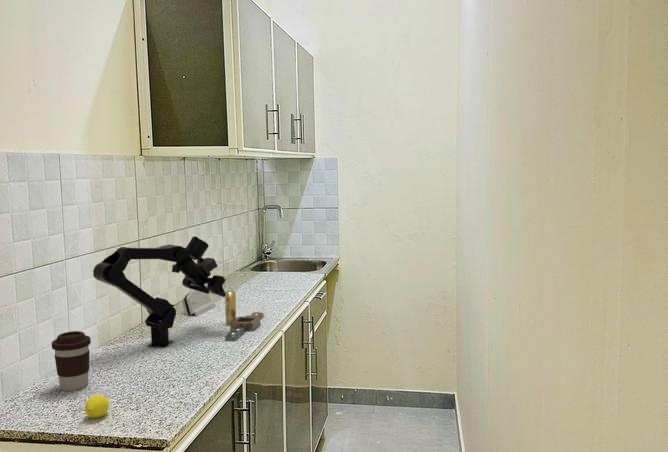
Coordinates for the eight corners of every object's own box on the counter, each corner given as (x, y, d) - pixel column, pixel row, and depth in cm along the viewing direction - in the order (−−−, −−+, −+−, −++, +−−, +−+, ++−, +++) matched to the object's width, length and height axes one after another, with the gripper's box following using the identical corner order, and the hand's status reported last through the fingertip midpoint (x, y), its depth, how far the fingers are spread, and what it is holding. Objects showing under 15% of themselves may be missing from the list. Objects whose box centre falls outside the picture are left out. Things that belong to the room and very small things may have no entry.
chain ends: (241, 341, 206) (241, 332, 206) (218, 340, 208) (217, 331, 208) (269, 316, 238) (269, 309, 238) (249, 315, 240) (248, 308, 239)
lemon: (93, 413, 151) (93, 391, 151) (114, 413, 150) (114, 392, 150) (78, 421, 144) (78, 398, 144) (99, 422, 143) (99, 399, 143)
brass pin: (234, 325, 226) (233, 293, 225) (224, 325, 227) (223, 292, 225) (238, 322, 230) (236, 290, 229) (228, 322, 231) (226, 290, 229)
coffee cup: (49, 386, 168) (45, 334, 166) (85, 377, 174) (81, 327, 173) (63, 396, 161) (59, 342, 159) (99, 386, 167) (95, 334, 166)
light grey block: (196, 316, 240) (188, 293, 240) (186, 319, 242) (178, 296, 242) (216, 306, 256) (208, 284, 256) (207, 309, 258) (199, 287, 258)
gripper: (220, 254, 210) (244, 279, 220) (187, 249, 222) (211, 274, 232) (203, 279, 205) (229, 304, 215) (170, 274, 217) (196, 298, 226)
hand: (216, 294), depth 222 cm, fingers open, 9 cm apart
